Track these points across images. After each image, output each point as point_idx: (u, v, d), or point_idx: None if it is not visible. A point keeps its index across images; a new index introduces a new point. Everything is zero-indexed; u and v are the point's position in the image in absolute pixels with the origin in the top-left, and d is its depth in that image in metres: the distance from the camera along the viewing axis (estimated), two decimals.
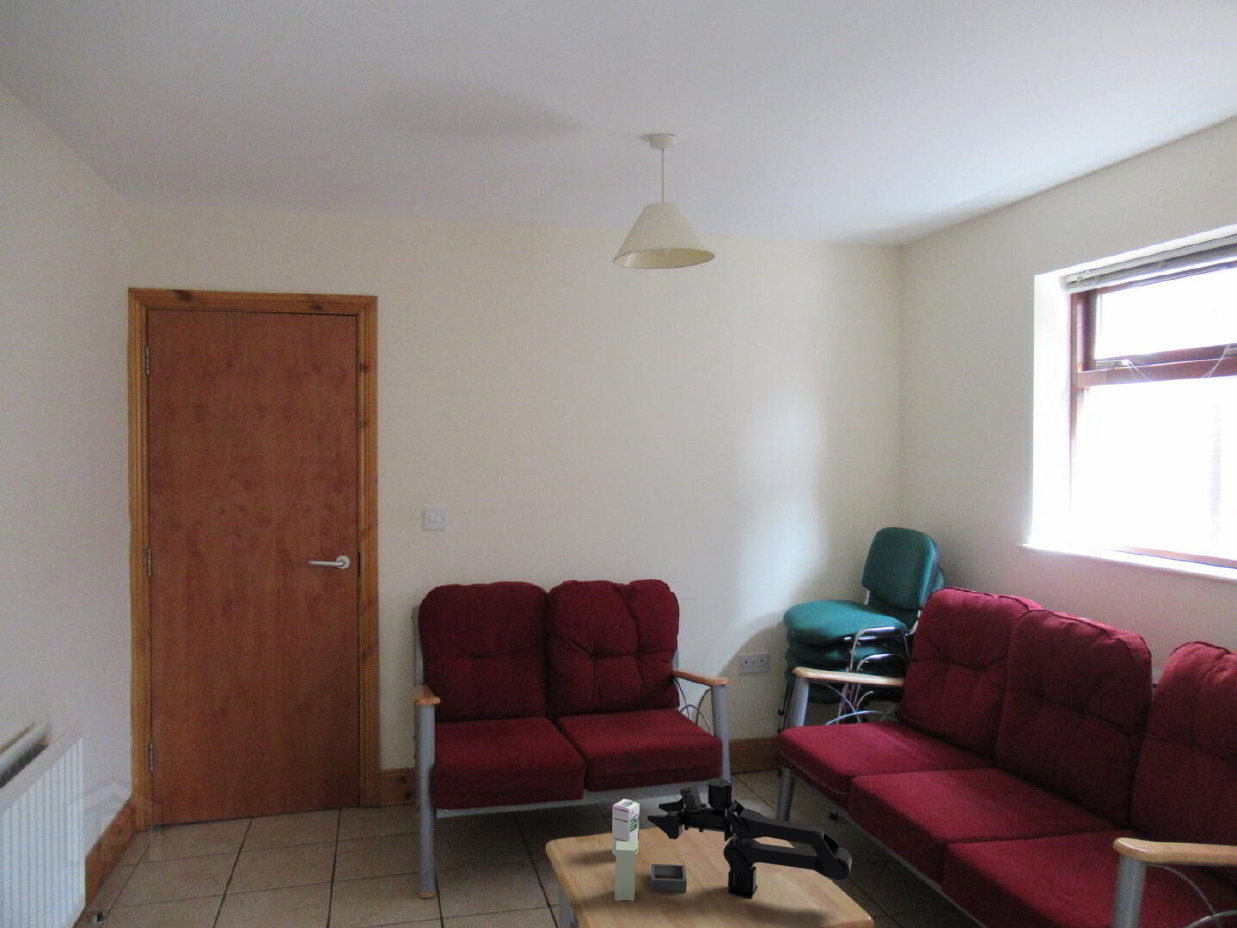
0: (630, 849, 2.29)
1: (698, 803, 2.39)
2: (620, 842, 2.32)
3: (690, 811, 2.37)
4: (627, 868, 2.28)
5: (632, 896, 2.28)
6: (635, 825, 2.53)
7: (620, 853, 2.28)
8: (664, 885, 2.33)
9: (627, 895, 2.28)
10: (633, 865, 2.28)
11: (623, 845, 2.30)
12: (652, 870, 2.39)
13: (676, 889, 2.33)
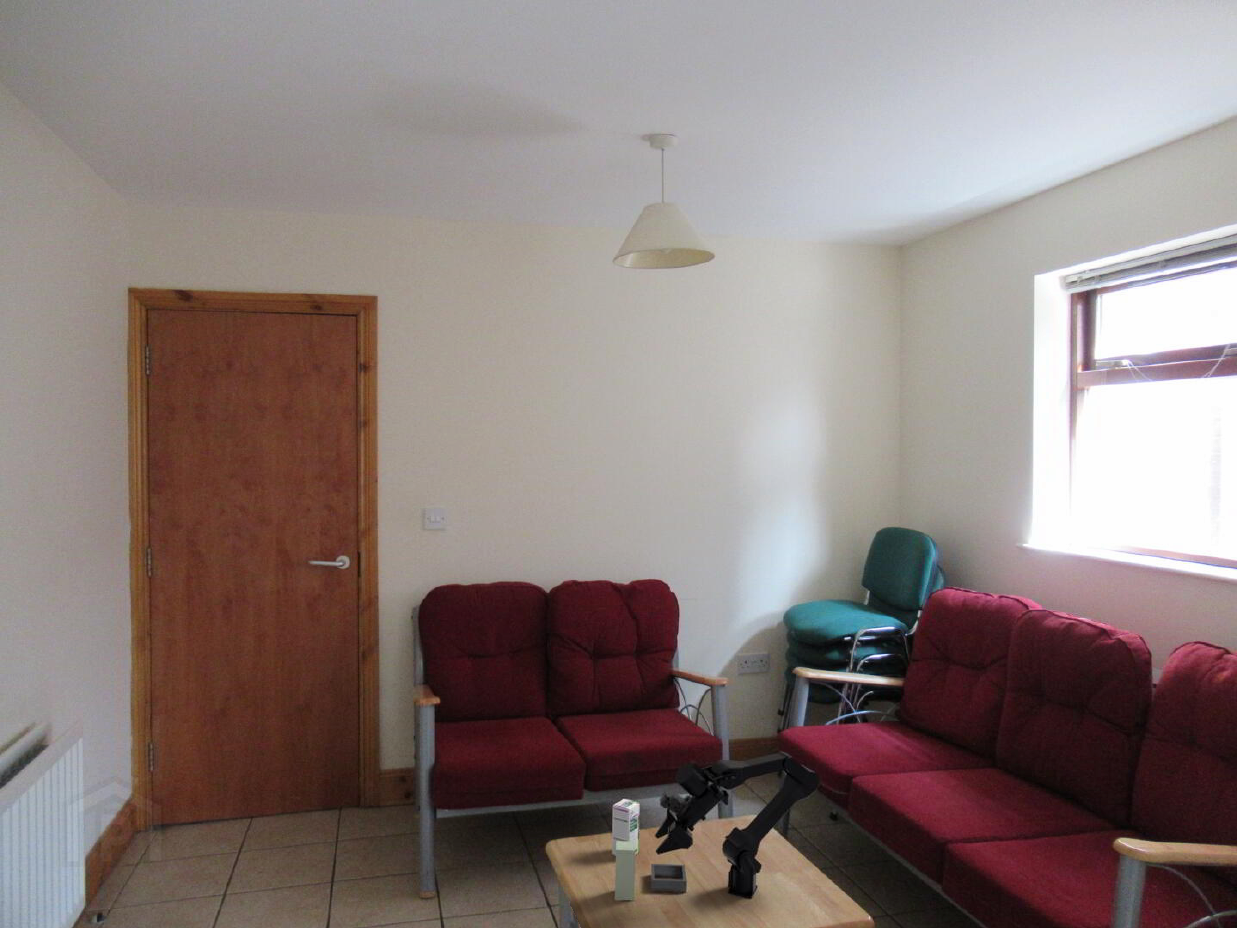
0: (630, 849, 2.29)
1: (682, 800, 2.30)
2: (620, 842, 2.32)
3: (682, 812, 2.27)
4: (627, 868, 2.28)
5: (632, 896, 2.28)
6: (635, 825, 2.53)
7: (620, 853, 2.28)
8: (664, 885, 2.33)
9: (627, 895, 2.28)
10: (633, 865, 2.28)
11: (623, 845, 2.30)
12: (652, 870, 2.39)
13: (676, 889, 2.33)
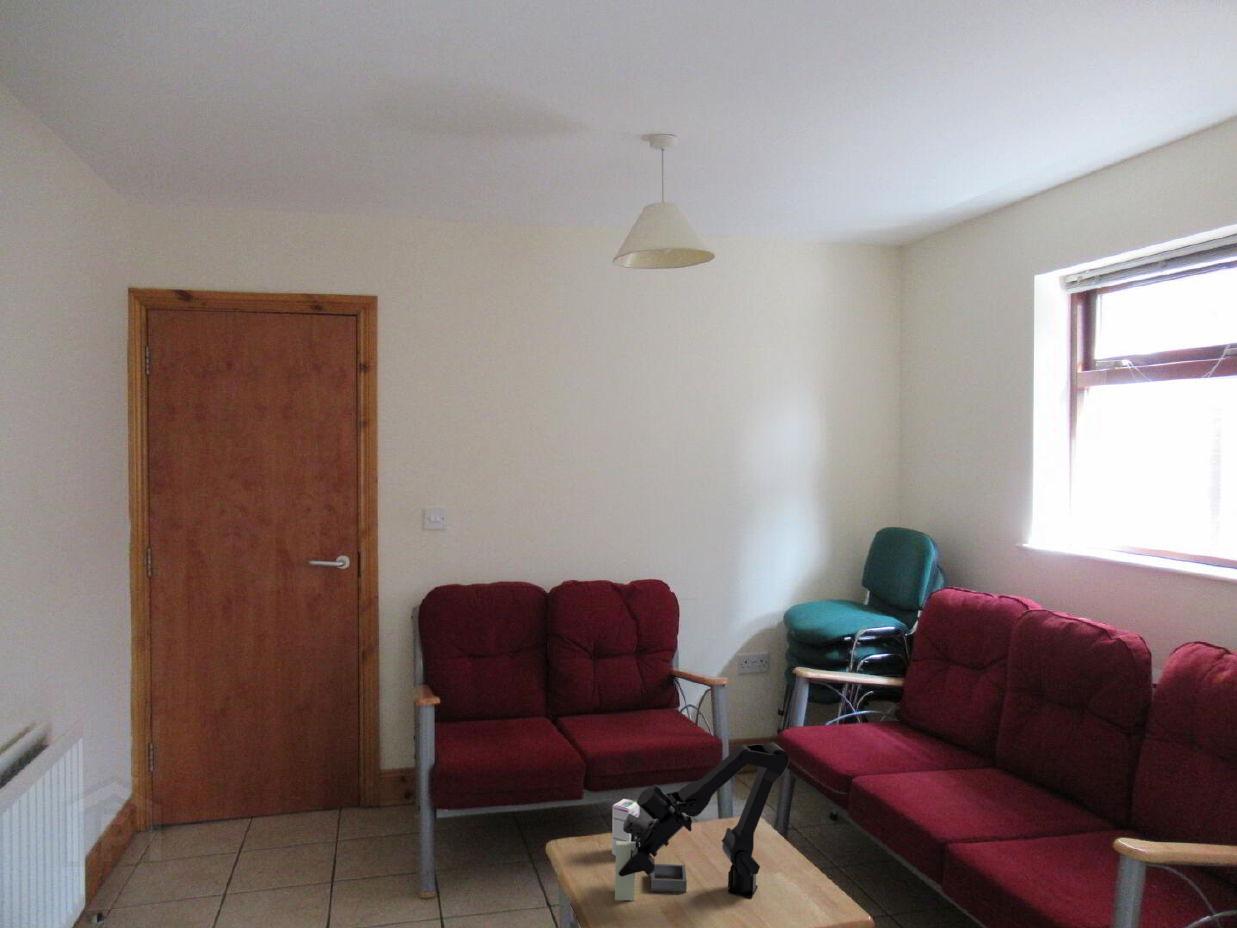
0: (630, 849, 2.28)
1: (645, 825, 2.30)
2: (620, 842, 2.32)
3: (645, 837, 2.28)
4: None
5: (632, 896, 2.28)
6: None
7: (620, 854, 2.28)
8: (664, 885, 2.33)
9: (627, 895, 2.28)
10: None
11: (623, 845, 2.30)
12: None
13: (676, 889, 2.33)
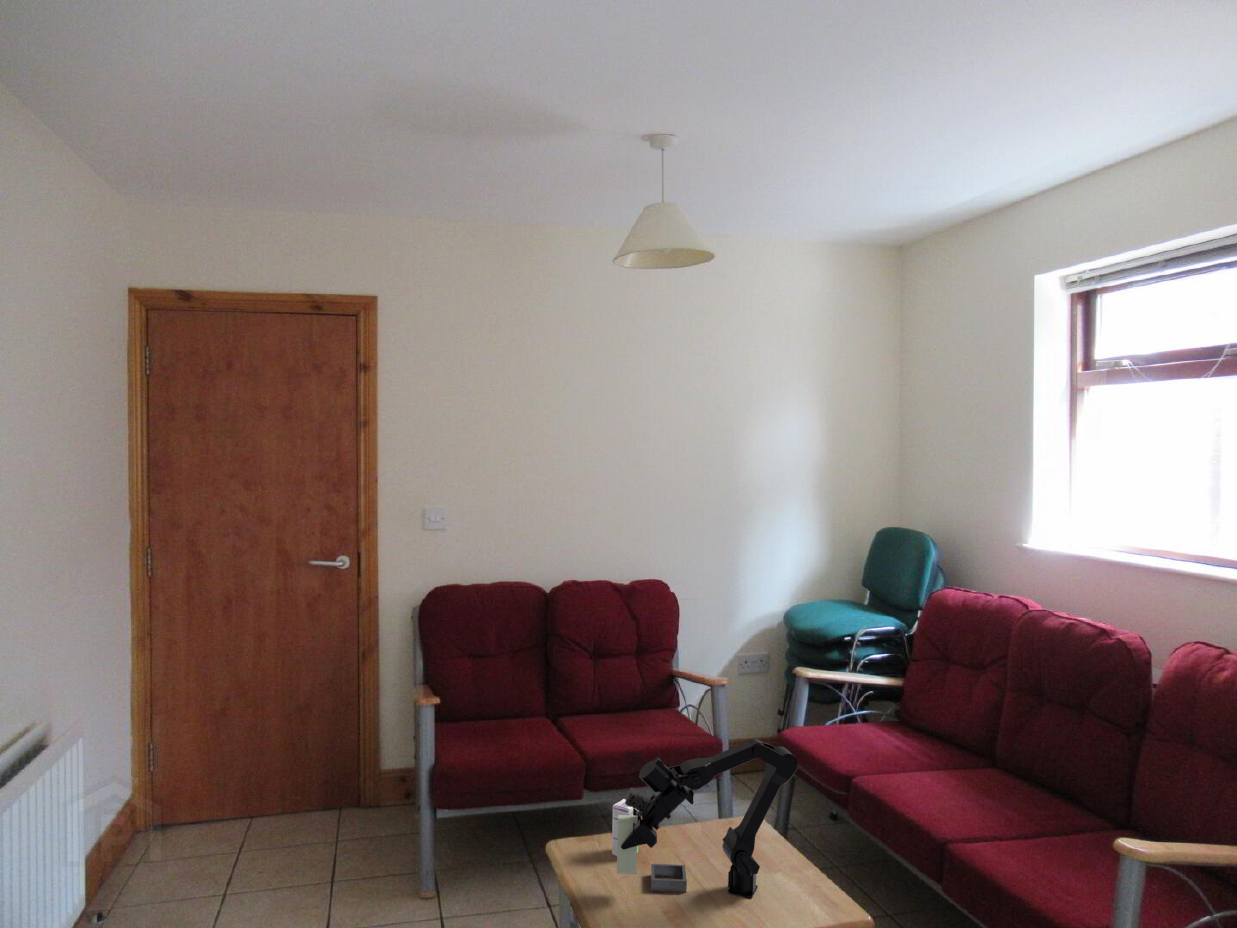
0: (632, 822, 2.29)
1: (647, 799, 2.30)
2: (622, 816, 2.32)
3: (647, 810, 2.28)
4: None
5: (634, 869, 2.28)
6: None
7: (622, 827, 2.28)
8: (664, 885, 2.33)
9: (630, 868, 2.28)
10: None
11: (625, 819, 2.30)
12: (652, 870, 2.39)
13: (676, 889, 2.33)
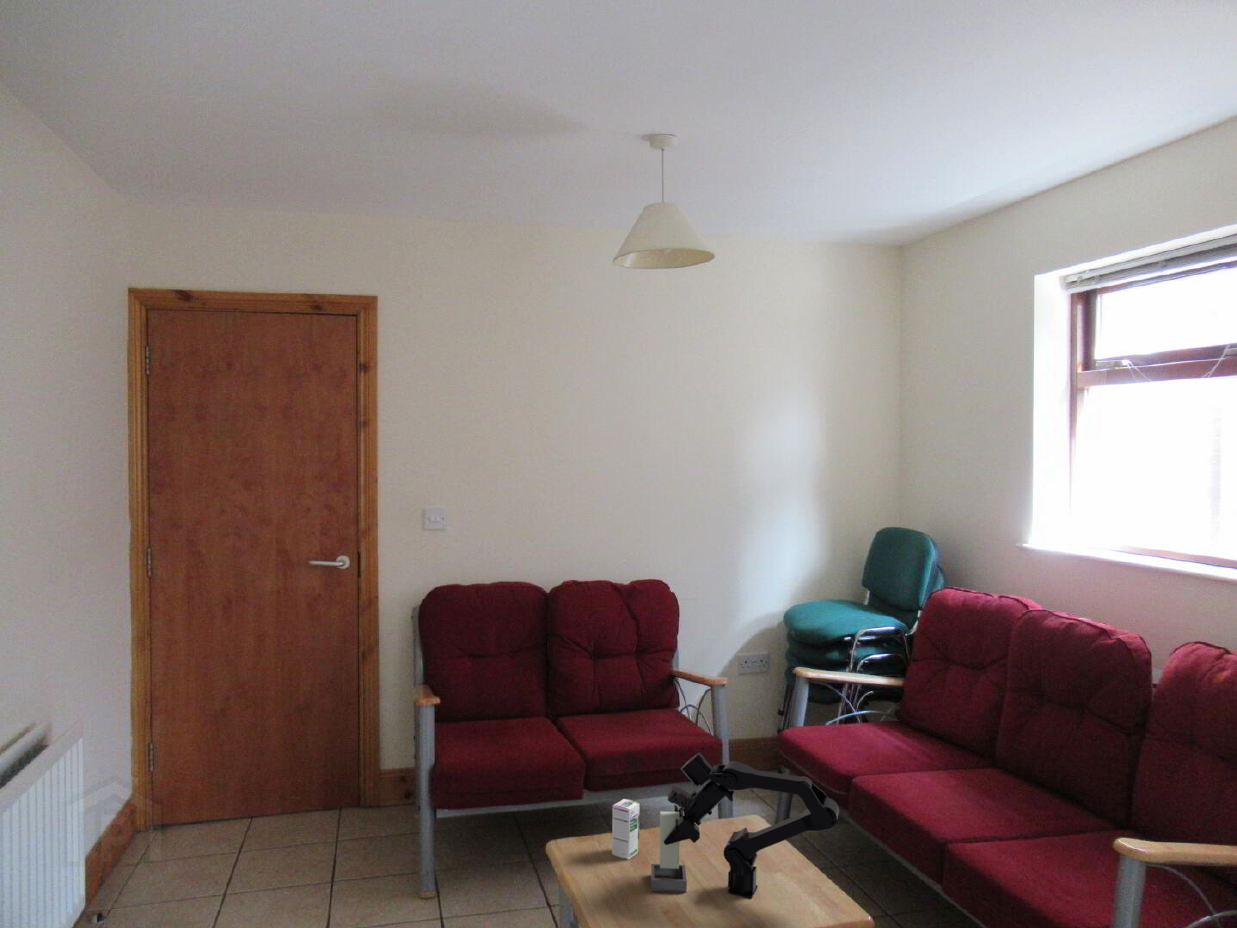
0: (674, 818, 2.35)
1: (689, 795, 2.37)
2: (664, 812, 2.39)
3: (689, 807, 2.34)
4: None
5: (677, 864, 2.35)
6: (635, 825, 2.53)
7: (665, 823, 2.35)
8: (664, 885, 2.33)
9: (672, 863, 2.35)
10: None
11: (667, 815, 2.37)
12: (652, 870, 2.39)
13: (676, 889, 2.33)
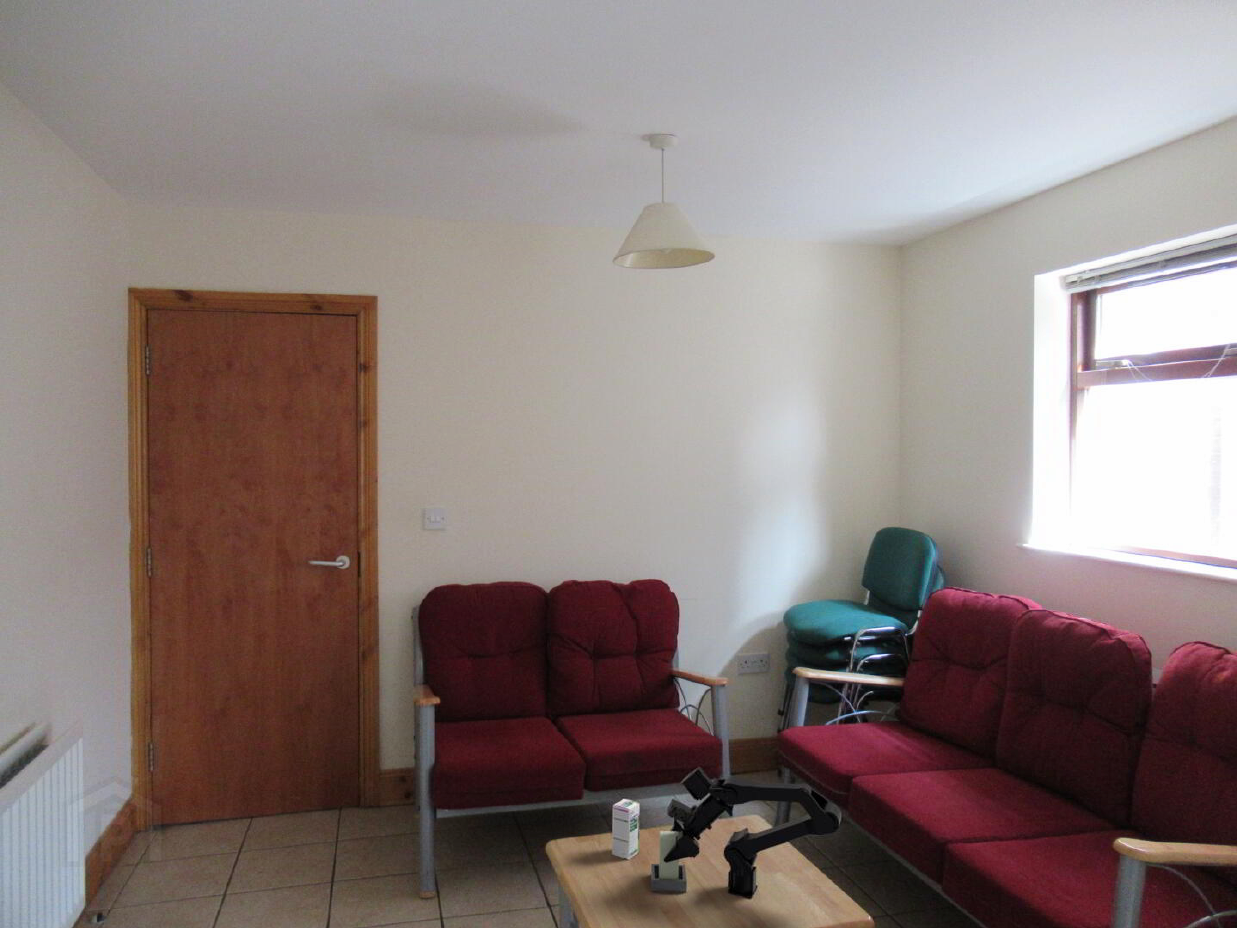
0: (674, 838, 2.35)
1: (688, 810, 2.37)
2: (664, 832, 2.39)
3: (689, 821, 2.34)
4: None
5: None
6: (635, 825, 2.53)
7: (665, 843, 2.35)
8: (664, 885, 2.33)
9: None
10: None
11: (667, 835, 2.37)
12: (652, 870, 2.39)
13: (676, 889, 2.33)
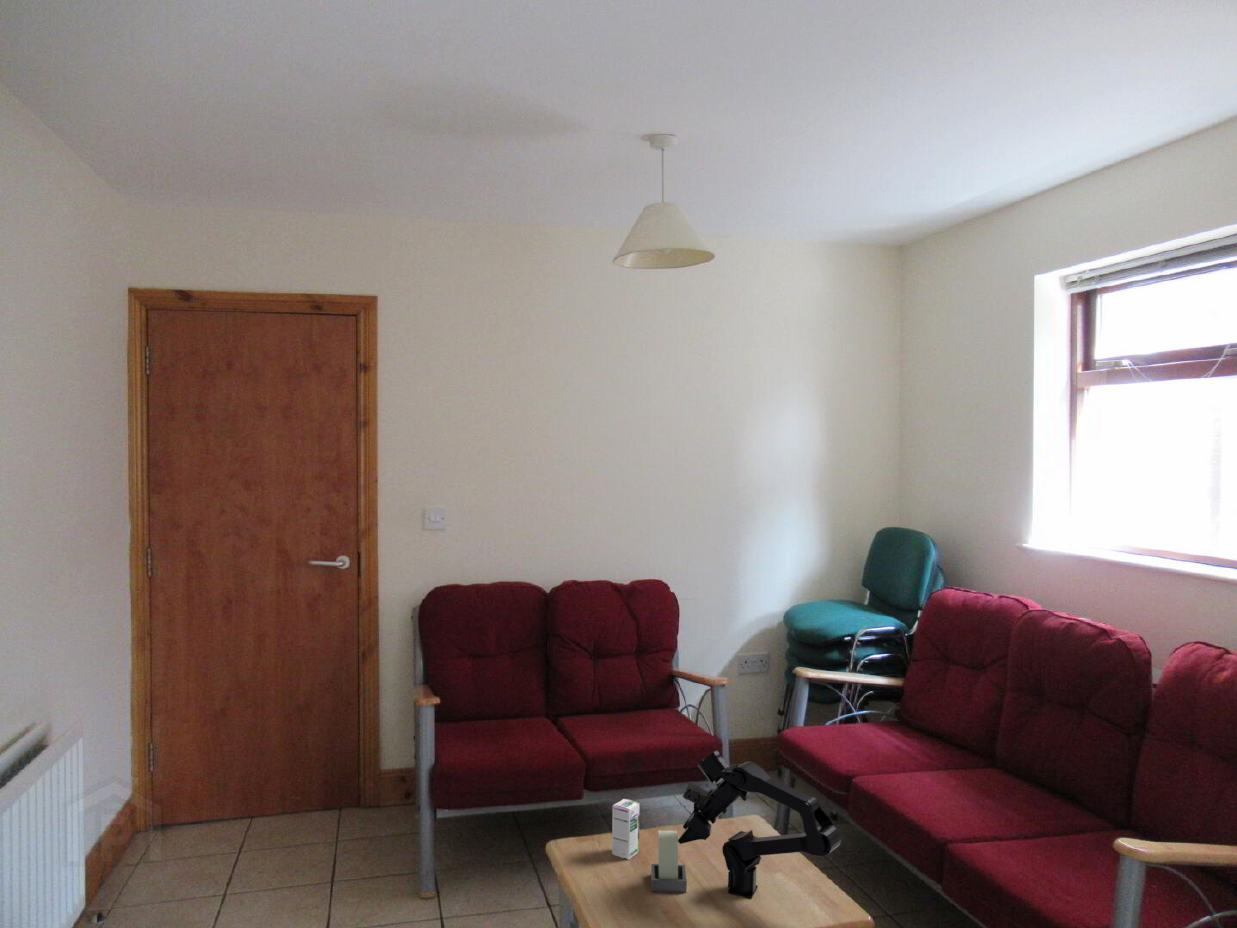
0: (672, 837, 2.36)
1: (704, 793, 2.38)
2: (662, 831, 2.39)
3: (703, 804, 2.36)
4: (670, 855, 2.35)
5: None
6: (635, 825, 2.53)
7: (663, 842, 2.35)
8: (664, 885, 2.33)
9: None
10: (676, 853, 2.35)
11: (665, 834, 2.38)
12: (652, 870, 2.39)
13: (676, 889, 2.33)
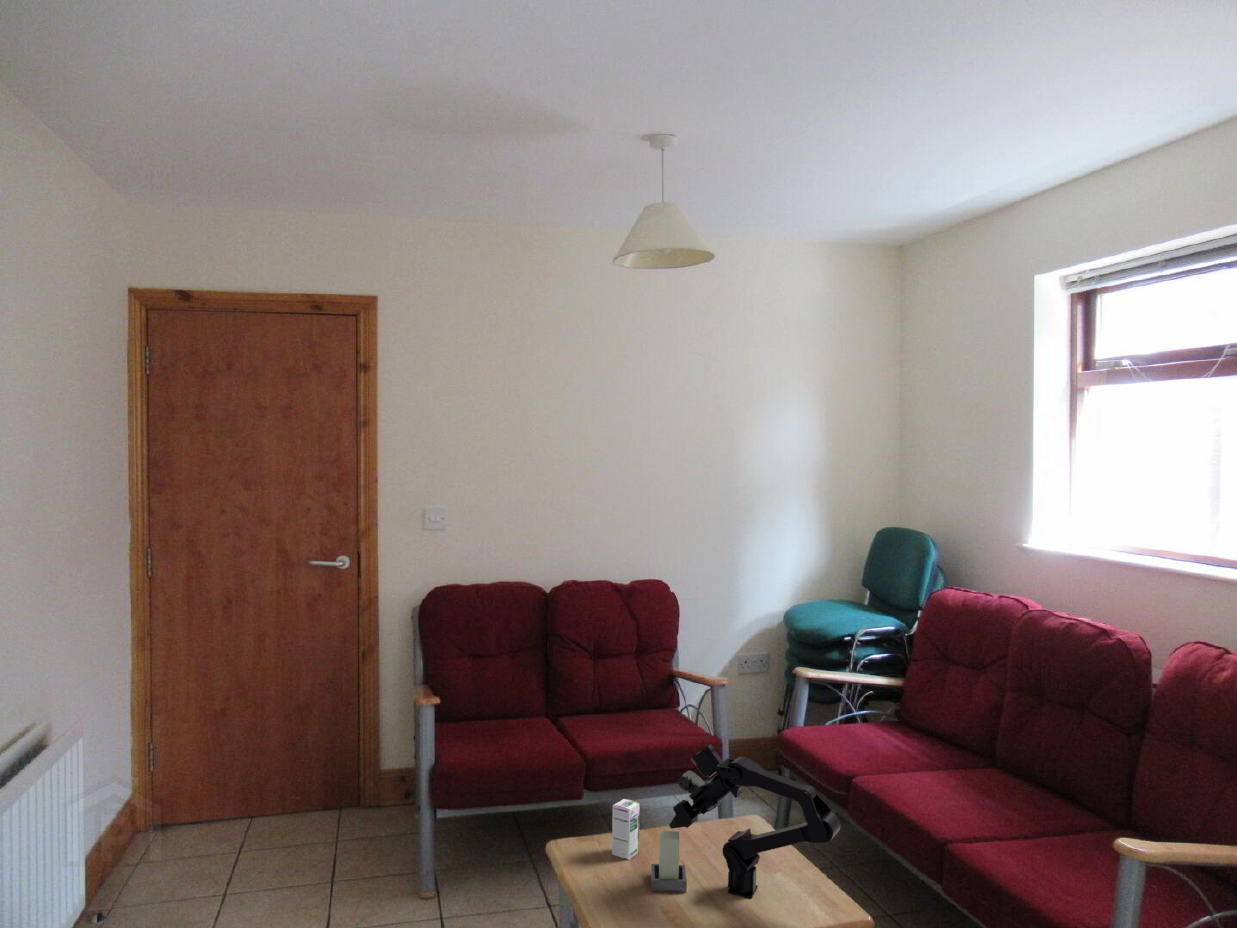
0: (674, 838, 2.36)
1: (699, 783, 2.41)
2: (664, 832, 2.39)
3: (695, 794, 2.39)
4: (671, 856, 2.35)
5: None
6: (635, 825, 2.53)
7: (665, 843, 2.35)
8: (664, 885, 2.33)
9: None
10: (677, 854, 2.35)
11: (667, 835, 2.37)
12: (652, 870, 2.39)
13: (676, 889, 2.33)
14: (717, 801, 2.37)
